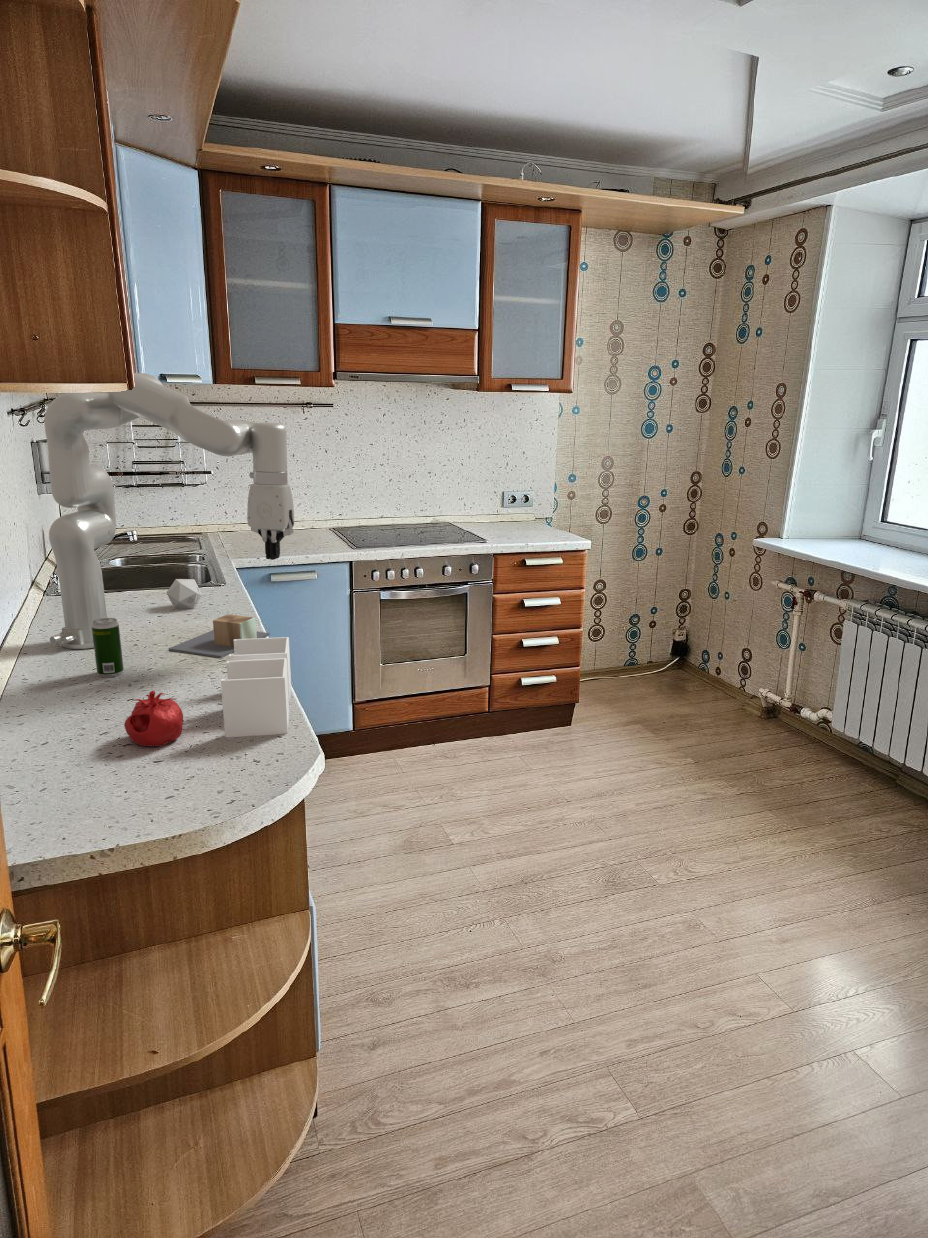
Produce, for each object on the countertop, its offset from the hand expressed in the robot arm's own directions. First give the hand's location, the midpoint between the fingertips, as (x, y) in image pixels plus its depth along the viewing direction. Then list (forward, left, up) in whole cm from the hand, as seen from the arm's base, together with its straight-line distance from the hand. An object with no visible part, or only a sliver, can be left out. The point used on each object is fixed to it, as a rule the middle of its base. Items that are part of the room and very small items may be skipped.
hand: (272, 558), depth 187 cm
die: (+24, +46, -23) cm, 57 cm away
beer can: (-28, +24, -23) cm, 43 cm away
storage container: (-33, -18, -23) cm, 44 cm away
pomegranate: (-52, -9, -23) cm, 57 cm away
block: (0, +8, -19) cm, 21 cm away
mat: (0, +16, -23) cm, 28 cm away
